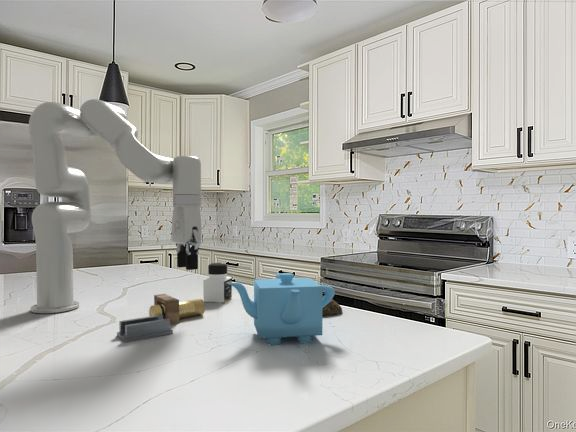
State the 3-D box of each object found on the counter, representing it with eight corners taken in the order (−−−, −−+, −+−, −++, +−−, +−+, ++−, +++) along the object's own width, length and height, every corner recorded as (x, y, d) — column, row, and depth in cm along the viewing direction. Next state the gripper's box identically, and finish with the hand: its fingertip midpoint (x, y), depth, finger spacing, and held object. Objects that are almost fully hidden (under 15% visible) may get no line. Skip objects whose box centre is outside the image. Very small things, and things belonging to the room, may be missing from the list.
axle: (154, 326, 110) (156, 310, 109) (148, 317, 114) (150, 302, 113) (203, 317, 119) (206, 303, 118) (196, 309, 123) (198, 295, 121)
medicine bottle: (224, 303, 135) (224, 264, 135) (203, 302, 136) (202, 264, 136) (232, 298, 142) (231, 262, 142) (211, 297, 143) (211, 261, 143)
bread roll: (303, 319, 117) (303, 300, 116) (293, 308, 129) (293, 292, 129) (348, 316, 119) (348, 298, 119) (334, 306, 131) (335, 290, 131)
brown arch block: (154, 317, 118) (154, 295, 118) (164, 315, 119) (164, 293, 119) (167, 324, 110) (167, 301, 110) (179, 323, 111) (179, 299, 111)
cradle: (116, 335, 100) (116, 321, 100) (162, 327, 107) (162, 314, 107) (124, 342, 95) (124, 327, 95) (172, 333, 102) (172, 319, 102)
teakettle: (340, 334, 101) (340, 272, 101) (296, 356, 86) (296, 283, 86) (275, 322, 112) (275, 266, 112) (226, 340, 97) (226, 275, 97)
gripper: (162, 202, 122) (162, 266, 122) (186, 201, 108) (187, 273, 109) (187, 202, 127) (187, 264, 127) (213, 201, 113) (214, 270, 113)
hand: (187, 267), depth 118 cm, fingers open, 5 cm apart
